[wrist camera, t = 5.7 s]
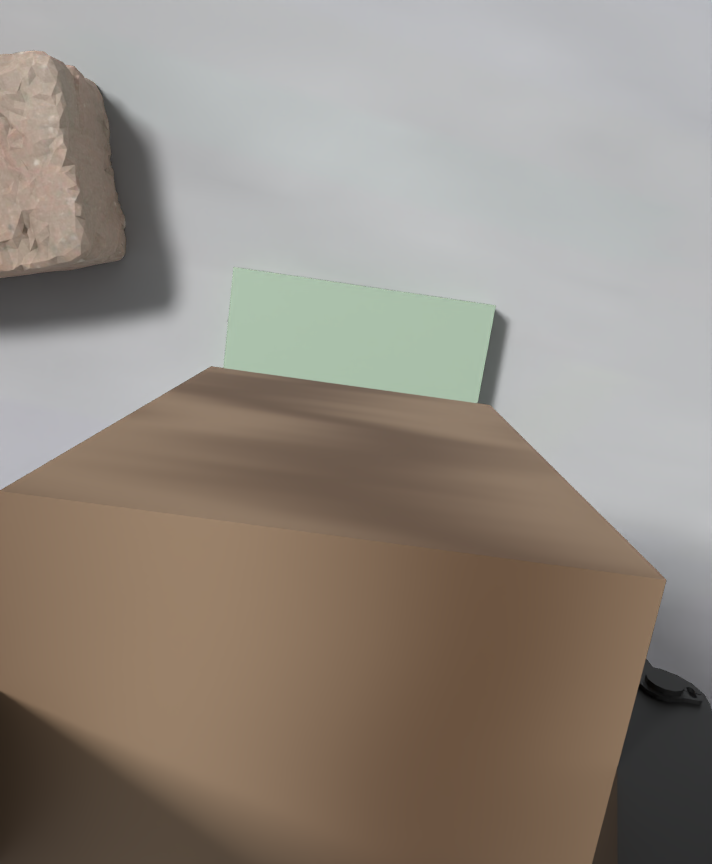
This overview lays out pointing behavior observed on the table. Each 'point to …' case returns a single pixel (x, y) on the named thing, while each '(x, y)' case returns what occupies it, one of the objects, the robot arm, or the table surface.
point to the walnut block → (311, 637)
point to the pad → (357, 335)
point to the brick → (54, 170)
